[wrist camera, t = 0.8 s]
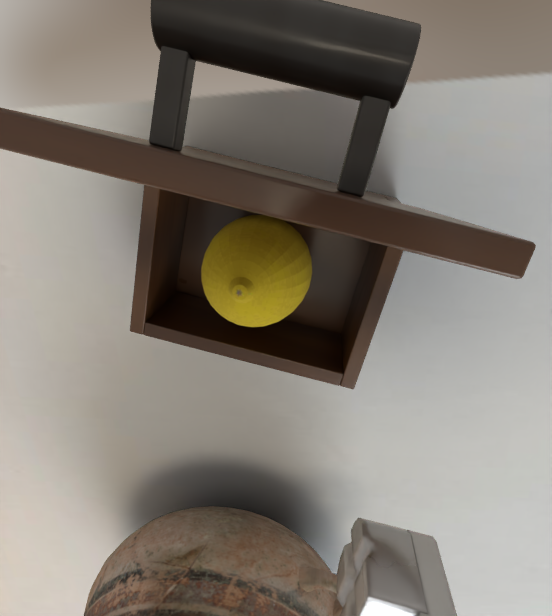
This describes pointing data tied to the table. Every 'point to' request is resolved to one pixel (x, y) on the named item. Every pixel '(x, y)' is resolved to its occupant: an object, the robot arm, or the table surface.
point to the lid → (290, 69)
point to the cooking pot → (214, 569)
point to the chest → (275, 337)
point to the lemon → (256, 270)
